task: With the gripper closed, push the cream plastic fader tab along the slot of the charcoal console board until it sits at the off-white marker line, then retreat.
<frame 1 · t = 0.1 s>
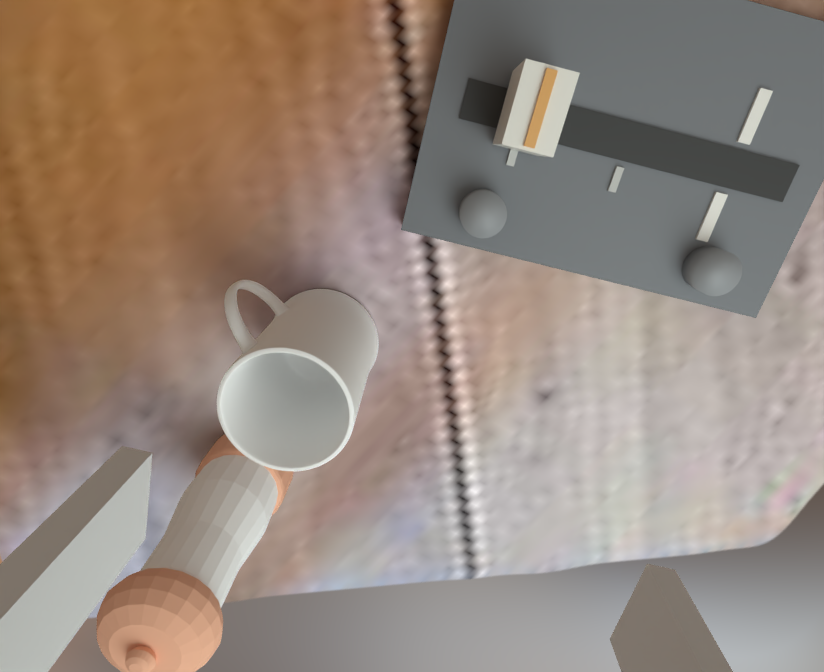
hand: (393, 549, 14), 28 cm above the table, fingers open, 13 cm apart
fader tab: (532, 111, 31), point 5 cm above the table, slide at -7.0 cm
pepper shaker: (253, 462, 46), on the table
mug: (314, 322, 42), on the table
console board: (618, 141, 36), on the table
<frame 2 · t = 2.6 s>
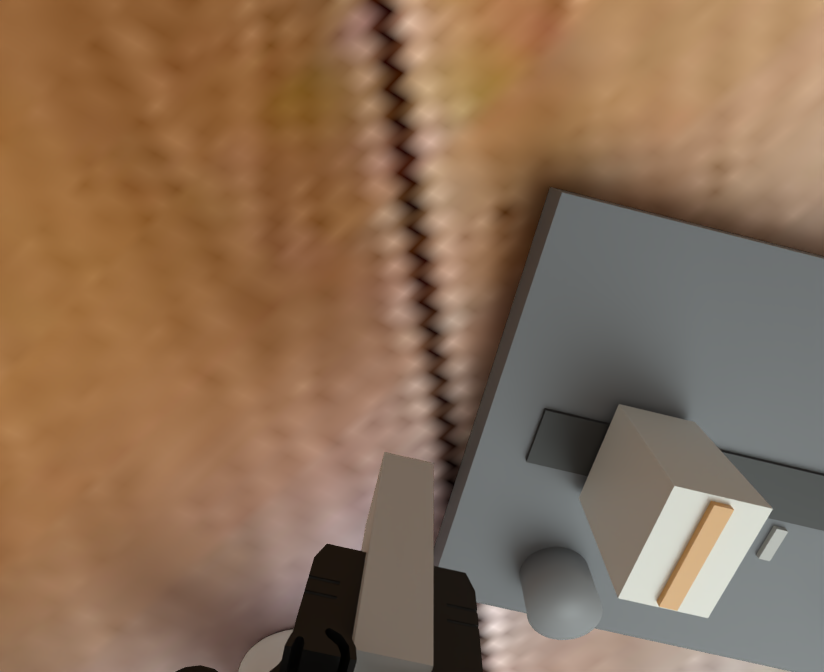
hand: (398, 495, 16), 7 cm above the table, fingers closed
fader tab: (660, 504, 18), point 5 cm above the table, slide at -7.0 cm
mug: (301, 661, 29), on the table
console board: (769, 466, 23), on the table
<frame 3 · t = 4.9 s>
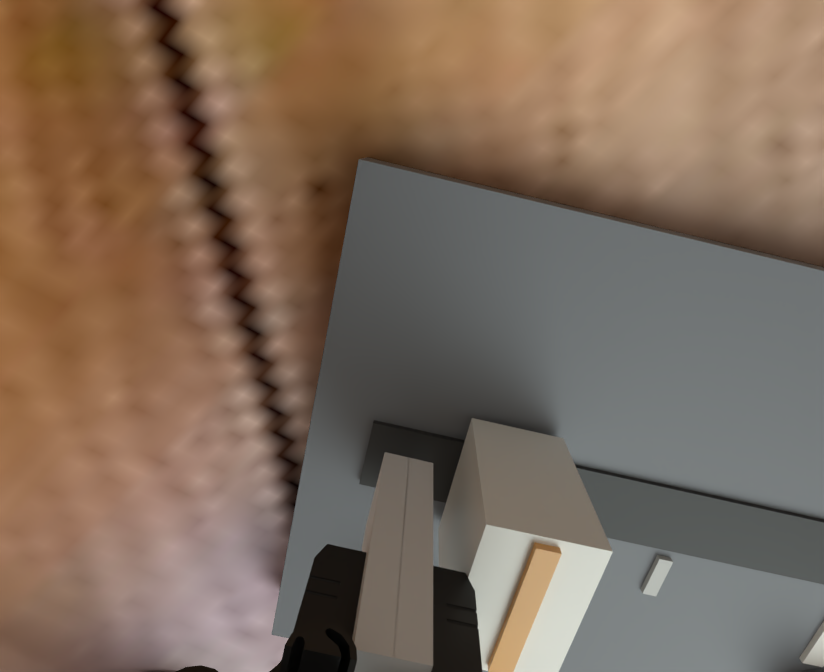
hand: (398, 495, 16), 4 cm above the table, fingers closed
fader tab: (508, 540, 15), point 5 cm above the table, slide at -6.5 cm, touching gripper
console board: (658, 484, 20), on the table
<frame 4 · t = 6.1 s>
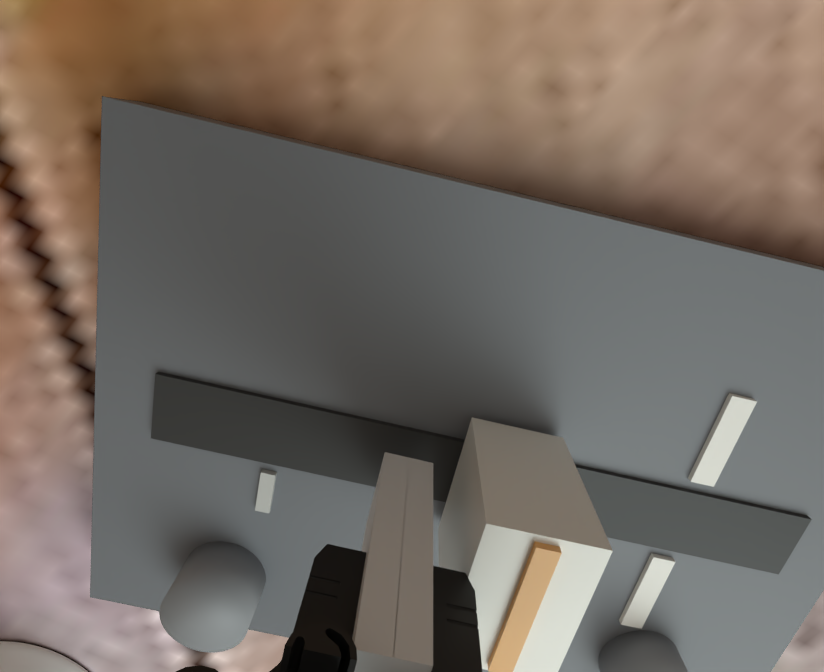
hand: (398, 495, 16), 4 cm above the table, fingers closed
fader tab: (508, 539, 15), point 5 cm above the table, slide at 0.6 cm, touching gripper
console board: (476, 443, 20), on the table
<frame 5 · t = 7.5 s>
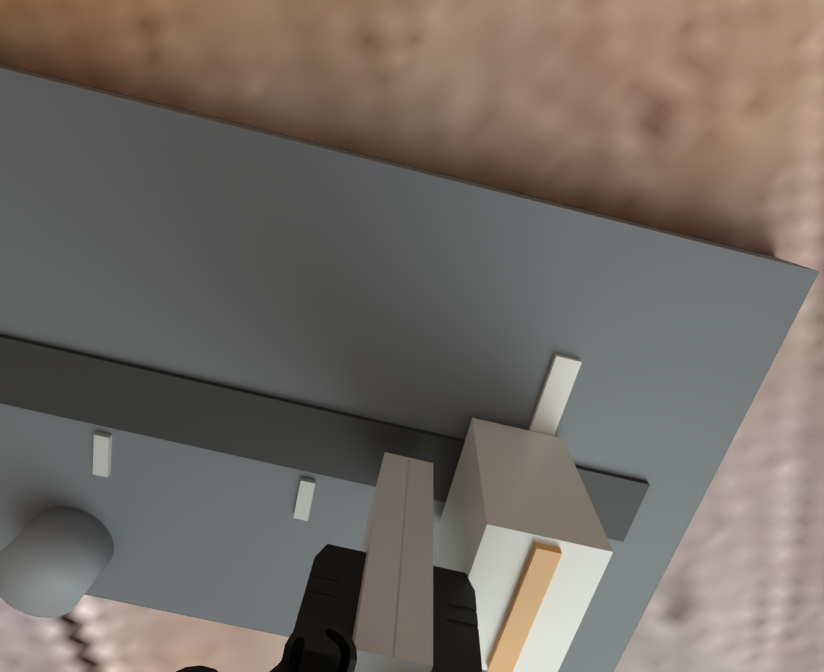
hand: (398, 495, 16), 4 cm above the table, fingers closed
fader tab: (508, 539, 15), point 5 cm above the table, slide at 6.2 cm, touching gripper
console board: (328, 410, 20), on the table
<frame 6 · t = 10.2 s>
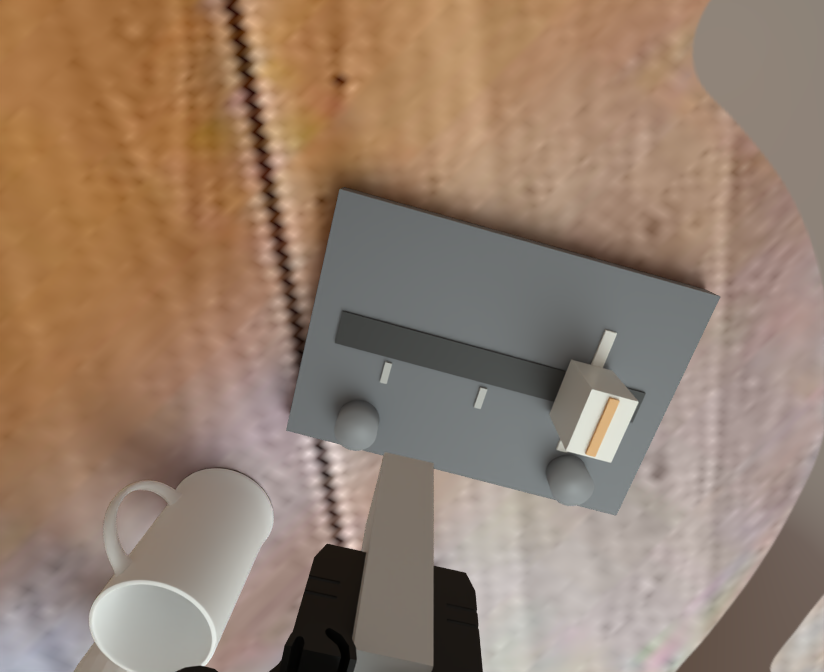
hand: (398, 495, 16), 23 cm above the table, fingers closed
fader tab: (590, 409, 35), point 5 cm above the table, slide at 6.6 cm
pepper shaker: (159, 612, 48), on the table
mug: (214, 495, 44), on the table
console board: (487, 357, 39), on the table
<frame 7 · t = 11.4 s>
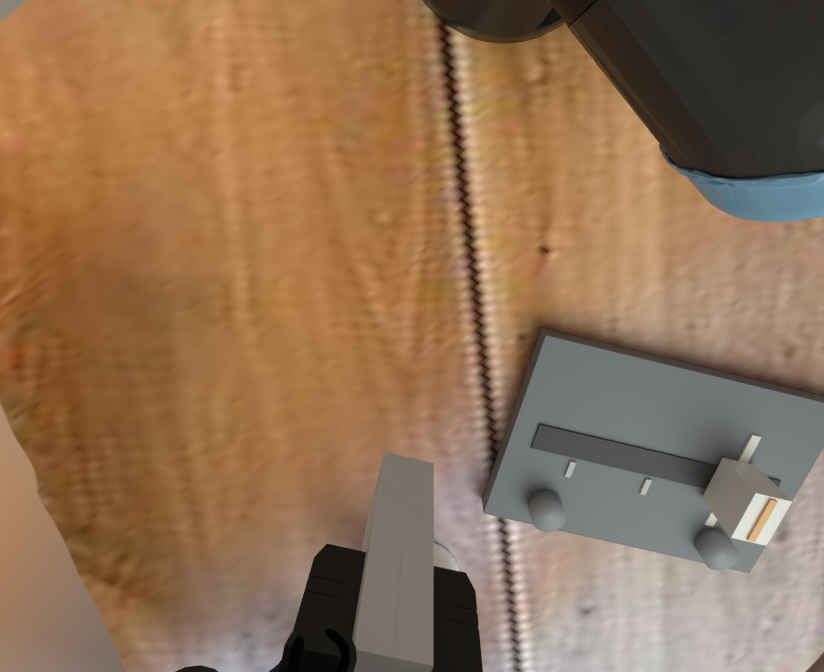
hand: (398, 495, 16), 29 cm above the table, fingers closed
fader tab: (744, 500, 44), point 5 cm above the table, slide at 6.6 cm
mug: (409, 559, 54), on the table
console board: (647, 451, 49), on the table
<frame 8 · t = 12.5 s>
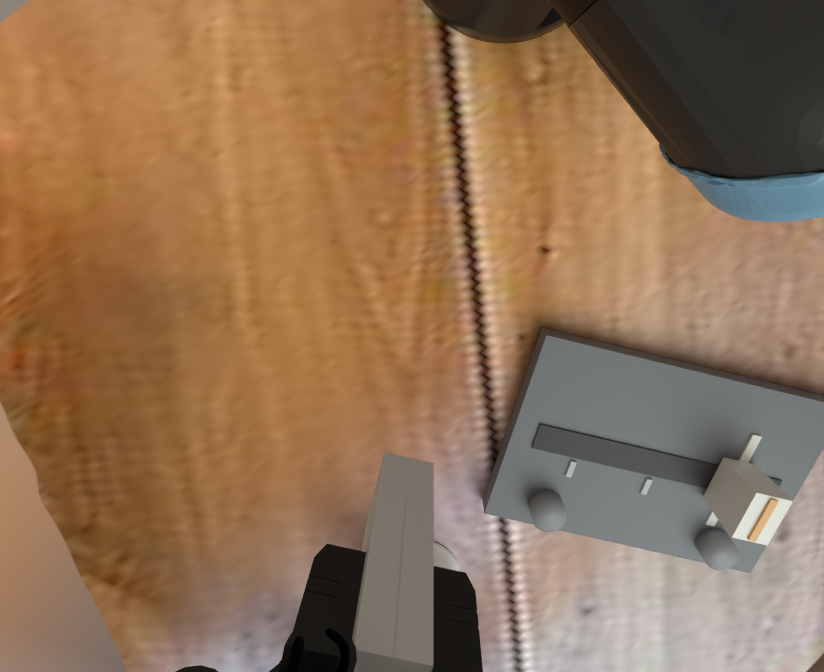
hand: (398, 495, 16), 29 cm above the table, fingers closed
fader tab: (745, 500, 44), point 5 cm above the table, slide at 6.6 cm
mug: (410, 559, 54), on the table
console board: (647, 451, 49), on the table
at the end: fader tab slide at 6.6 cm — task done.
